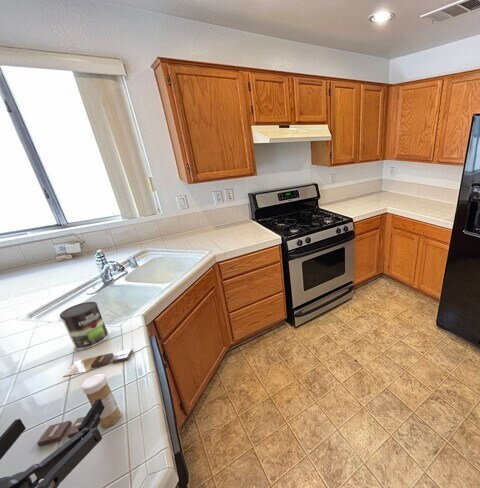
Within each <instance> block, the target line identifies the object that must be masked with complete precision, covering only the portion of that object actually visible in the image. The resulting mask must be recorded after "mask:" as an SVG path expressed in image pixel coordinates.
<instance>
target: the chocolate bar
mask: <svg viewBox="0 0 480 488" xmlns="http://www.w3.org/2000/svg"><path fill="white" fill-rule="evenodd" d="M133 352H134V350H133V348H129V349H123V350H119V351H117V352H116V353H115V355H114V353H113V352H109V353H106V354H100V355H97V356H93V357H88V358H82V359H79V360H75V362H74V363H72V365H71V366H70V367H69V369H67V371H66V372H65V373H64V375H63V376H62V378H64V377H65V378H66V377H69V376H74V375H79V374H83V373H88V372H90V370H91V369H93V368H94V369H95V368H98V367H102V366H108V365H109V363H110V362H112V364H117V363H121V362H126V361H129V359H130V358H131V355H132V354H133Z"/></svg>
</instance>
